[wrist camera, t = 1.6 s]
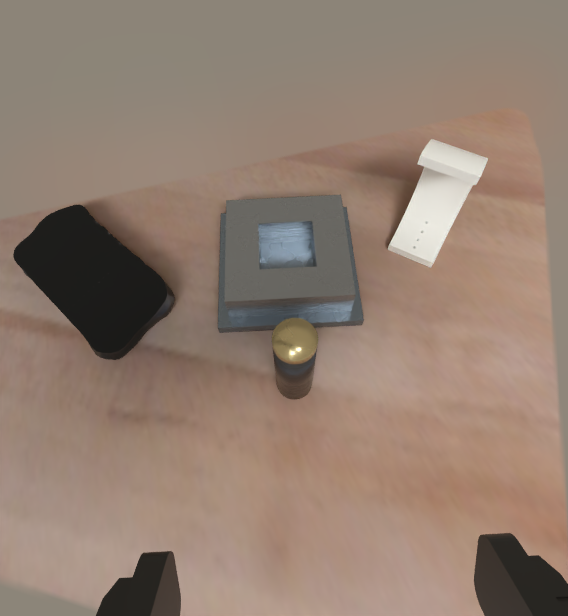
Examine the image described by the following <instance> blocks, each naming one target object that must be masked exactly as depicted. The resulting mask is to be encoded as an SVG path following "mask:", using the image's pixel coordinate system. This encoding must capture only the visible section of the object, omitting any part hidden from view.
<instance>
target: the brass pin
mask: <svg viewBox="0 0 568 616" xmlns="http://www.w3.org/2000/svg"><path fill="white" fill-rule="evenodd" d="M317 343H318V335H317V332H316V330H315V328H314V327H313V325H312V324H311V323H309V322H308V321H306V320H304V319H301V318H289V319H286V320H284V321H282V322H280V323H279V324H278V325H277V326H276V328H275V329H274V331H273V334H272V345H273V353H274V362H275V371H276V380H277V387H278V390H279V391H280V393H281V394H282V395H283V396H285V397H287V398H289V399H300V398H302V397H304V396H305V395H307V394H308V392H309V391H310V389H311V386H312V379H313V372H314V365H315V358H316V351H317Z"/></svg>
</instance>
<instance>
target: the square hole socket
mask: <svg viewBox="0 0 568 616" xmlns="http://www.w3.org/2000/svg"><path fill="white" fill-rule="evenodd" d="M289 318H301V319H304V320H306V321H308V322H309V323H311V324H312V325H313V327H314V328H316V327H335V326H354V325H362V324H363V321H364V319H363V312H362V306H361V299H360V293H359V286H358V280H357V273H356V267H355V260H354V254H353V247H352V241H351V234H350V227H349V221H348V214H347V208H346V207H343V206H342V199H341V195H326V196H306V197H287V198H267V199H247V200H227V201H226V213H223V214H221V231H220V269H219V307H218V329H219V332H220V333H221V332H240V331H259V330H274V329H275V328H276V326H277V325H278V324H279V323H280V322H282V321H284V320H286V319H289Z"/></svg>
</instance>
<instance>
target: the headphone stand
mask: <svg viewBox="0 0 568 616" xmlns="http://www.w3.org/2000/svg"><path fill="white" fill-rule="evenodd" d="M487 161H488V158H486V157H483V156H480V155H477V154H474V153H471V152H468V151H466V150H463V149H460V148H457V147H454V146H451V145H448V144H445V143H442V142H439V141H436V140H434V139H431V140H430V141H429V143H428V144H427V145H426V147H425V149H424V150H423V152H422V154H421V155H420V158H419V161H418V165H421V166H424V169H423V171H422V174H421V177H420V179H419V182H418V184H417V187H416V189H415V191H414V194H413V196H412V198H411V201H410V203H409V205H408V207H407V210H406V212H405V214H404V216H403V218H402V220H401V222H400V224H399V226H398V229H397V231H396V233H395V235H394V236H393V238H392V240H391V242H390V244H389V247H388V250H390V251H392V252H394V253H397V254H399V255H402V256H404V257H406V258H409V259H411V260H413V261H416V262H418V263H420V264H423V265H425V266H428V267H430V268H431V267H432V265H433V263H434V261H435V259H436V257H437V255H438V253H439V250H440V248H441V246H442V244H443V242H444V240H445V238H446V236H447V234H448V232H449V230H450V228H451V226H452V224H453V222H454V220H455V218H456V216H457V214H458V212H459V210H460V209H461V207H462V205H463V203H464V201H465V199H466V197H467V195H468V193H469V191H470V189H471V188H472V186H473V185H476V184H477V182H478V180H479V179H480V177H481V175H482V172H483V170H484V168H485V166H486V163H487Z"/></svg>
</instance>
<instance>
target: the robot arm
mask: <svg viewBox="0 0 568 616" xmlns="http://www.w3.org/2000/svg"><path fill="white" fill-rule="evenodd" d="M474 585H475V591H476V595H477V598H478V601H479V604H480V606H481V609H482V611H483V613H484V615H485V616H568V584H567V582H566V581H565V580H564V578H563V577H562V575H561V574H560V573H559V572H558V571H556V570H555V569H554V568H553V567H552V566H550V565H549V564H548V563H547V562H546V561H545V560H543V559H542V558H541V557H540V556H539V555H538V556H528V555H527V553H526V552H525V550H524V549H523V547H522V546H521V544H520V543H519V541H518V540H517V539H516V537H515V536H514V535H512V534H511V533H502V534H485V535H480V536H479V539H478V547H477V556H476V565H475V574H474ZM180 609H181V595H180V588H179V582H178V576H177V571H176V565H175V559H174V554H173V552H172V551H167V552H149V553H143V554H142V555H141V557H140V559H139V561H138V564H137V567H136V569H135V572H134V575H133V577H131V578H119V579H118V581H117V582H116V583H115V584H114V586H113V587H112V588H111V589H110V590H109V592H108V593H107V594H106V595H105V597H104V598H103V600H102V602H101V605H100V607H99V609H98V612H97V614H96V616H180Z"/></svg>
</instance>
